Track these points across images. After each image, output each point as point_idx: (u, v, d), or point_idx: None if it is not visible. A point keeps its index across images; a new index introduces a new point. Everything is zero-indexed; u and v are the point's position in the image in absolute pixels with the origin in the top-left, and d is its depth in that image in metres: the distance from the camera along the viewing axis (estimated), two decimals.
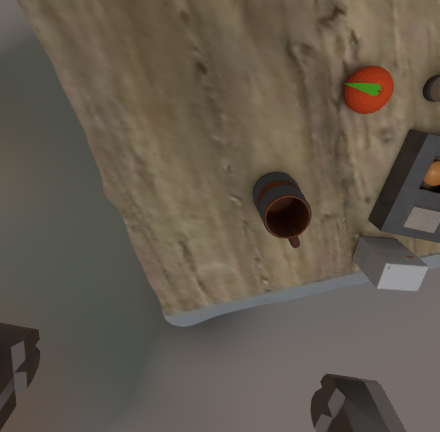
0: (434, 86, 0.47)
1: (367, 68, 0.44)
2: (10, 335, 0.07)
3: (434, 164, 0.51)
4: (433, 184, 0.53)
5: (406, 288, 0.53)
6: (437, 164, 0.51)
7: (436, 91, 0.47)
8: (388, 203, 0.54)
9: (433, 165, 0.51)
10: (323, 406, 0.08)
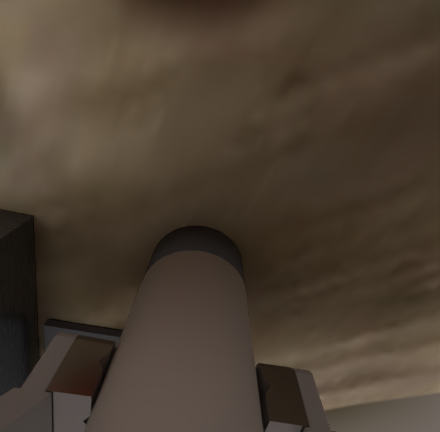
0: (199, 260, 0.10)
1: None
2: (95, 348, 0.07)
3: None
4: None
5: None
6: None
7: (176, 272, 0.09)
8: None
9: None
10: None
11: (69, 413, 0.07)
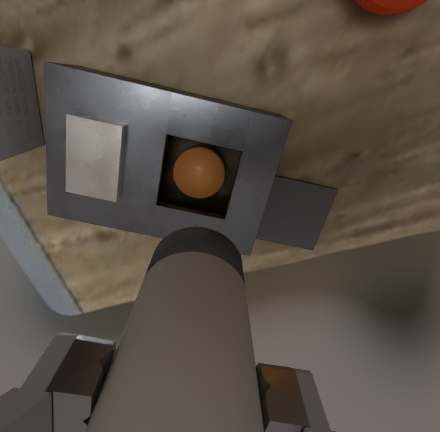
0: (200, 262, 0.10)
1: None
2: (95, 348, 0.07)
3: (218, 163, 0.25)
4: (176, 173, 0.25)
5: None
6: (218, 169, 0.25)
7: (176, 274, 0.09)
8: (122, 79, 0.22)
9: (216, 161, 0.25)
10: None
11: (69, 413, 0.07)
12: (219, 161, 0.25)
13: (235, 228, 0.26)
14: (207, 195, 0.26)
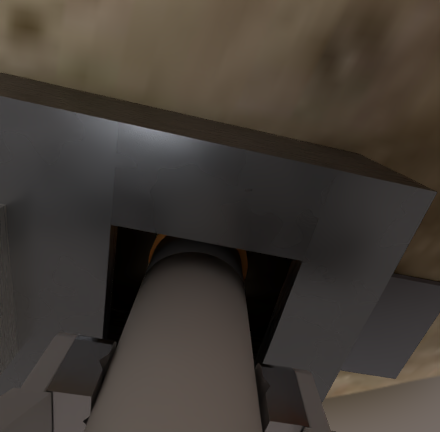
0: (199, 262, 0.10)
1: None
2: (95, 348, 0.07)
3: None
4: None
5: None
6: None
7: (175, 274, 0.09)
8: None
9: None
10: None
11: (69, 413, 0.07)
12: None
13: None
14: None
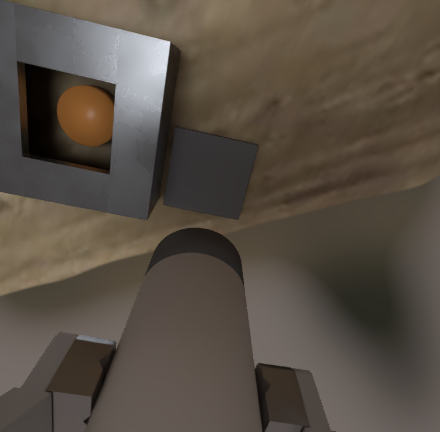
0: (199, 263, 0.10)
1: None
2: (95, 348, 0.07)
3: (107, 103, 0.22)
4: (60, 115, 0.22)
5: None
6: (108, 110, 0.22)
7: (176, 275, 0.09)
8: None
9: (104, 101, 0.22)
10: None
11: (69, 413, 0.07)
12: (107, 101, 0.22)
13: (124, 185, 0.21)
14: (100, 142, 0.23)
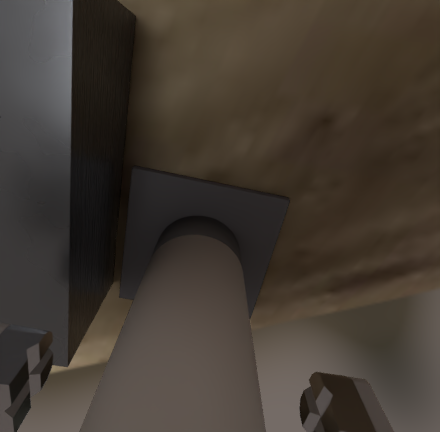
0: (201, 242, 0.11)
1: None
2: (25, 337, 0.07)
3: None
4: None
5: None
6: None
7: (180, 252, 0.10)
8: None
9: None
10: (311, 404, 0.08)
11: None
12: None
13: (7, 308, 0.10)
14: None
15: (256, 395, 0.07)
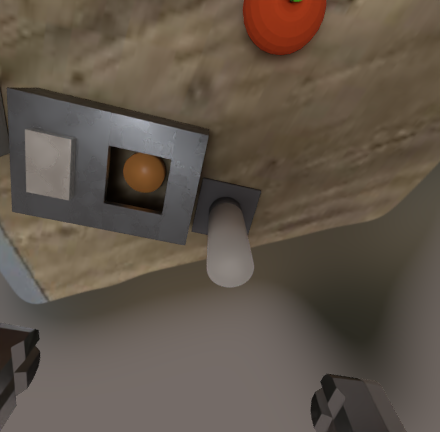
0: (229, 205, 0.33)
1: None
2: (10, 335, 0.07)
3: (158, 164, 0.32)
4: (125, 172, 0.32)
5: None
6: (158, 169, 0.32)
7: (223, 207, 0.32)
8: (72, 101, 0.28)
9: (156, 163, 0.32)
10: (323, 406, 0.08)
11: None
12: (159, 163, 0.32)
13: (171, 222, 0.31)
14: (151, 190, 0.33)
15: (247, 236, 0.28)
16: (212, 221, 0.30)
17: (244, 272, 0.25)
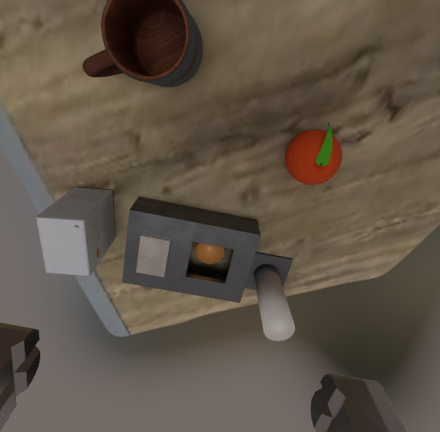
0: (271, 273, 0.46)
1: (341, 150, 0.37)
2: (10, 335, 0.07)
3: None
4: (197, 251, 0.45)
5: (47, 257, 0.36)
6: (221, 249, 0.45)
7: (267, 276, 0.45)
8: (168, 212, 0.41)
9: None
10: (323, 406, 0.08)
11: None
12: None
13: (231, 288, 0.44)
14: (214, 262, 0.46)
15: None
16: (261, 288, 0.43)
17: (288, 332, 0.38)
